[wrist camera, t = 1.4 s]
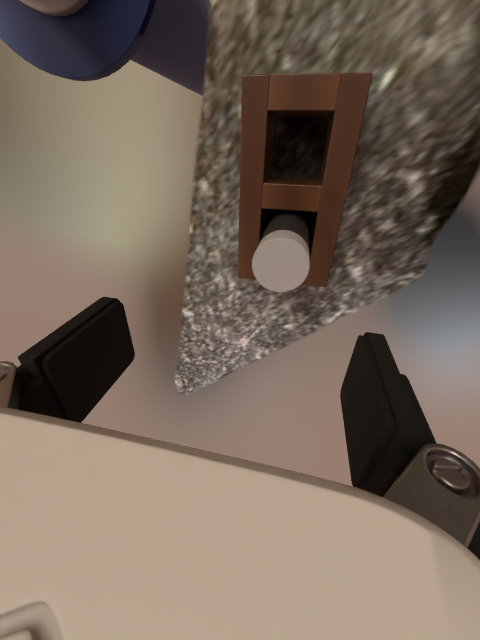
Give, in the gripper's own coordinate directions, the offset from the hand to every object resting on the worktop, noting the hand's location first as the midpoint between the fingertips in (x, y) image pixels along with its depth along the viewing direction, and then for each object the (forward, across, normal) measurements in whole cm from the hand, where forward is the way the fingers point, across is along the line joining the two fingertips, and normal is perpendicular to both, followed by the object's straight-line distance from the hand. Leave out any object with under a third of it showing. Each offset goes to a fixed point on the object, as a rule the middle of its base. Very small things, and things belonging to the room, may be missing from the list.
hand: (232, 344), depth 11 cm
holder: (+23, -1, -3) cm, 23 cm away
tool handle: (+23, -1, 0) cm, 23 cm away
